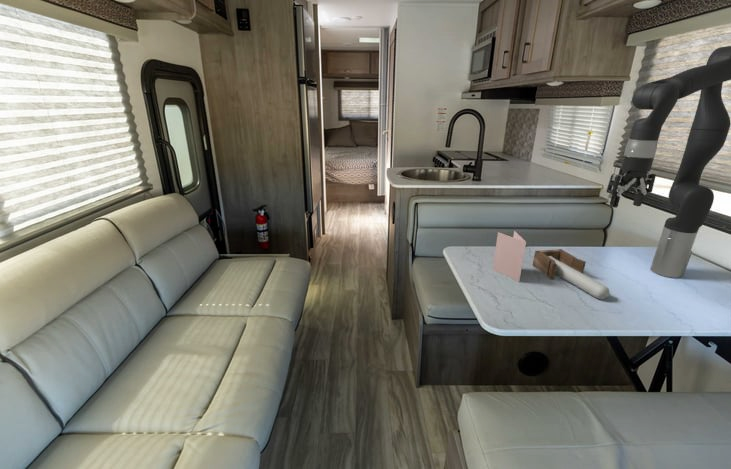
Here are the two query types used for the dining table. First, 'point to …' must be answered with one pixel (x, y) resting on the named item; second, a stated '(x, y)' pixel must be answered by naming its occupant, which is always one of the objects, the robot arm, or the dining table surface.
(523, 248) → the greeting card
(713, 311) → the dining table surface
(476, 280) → the dining table surface
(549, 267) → the socket block
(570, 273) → the tube
